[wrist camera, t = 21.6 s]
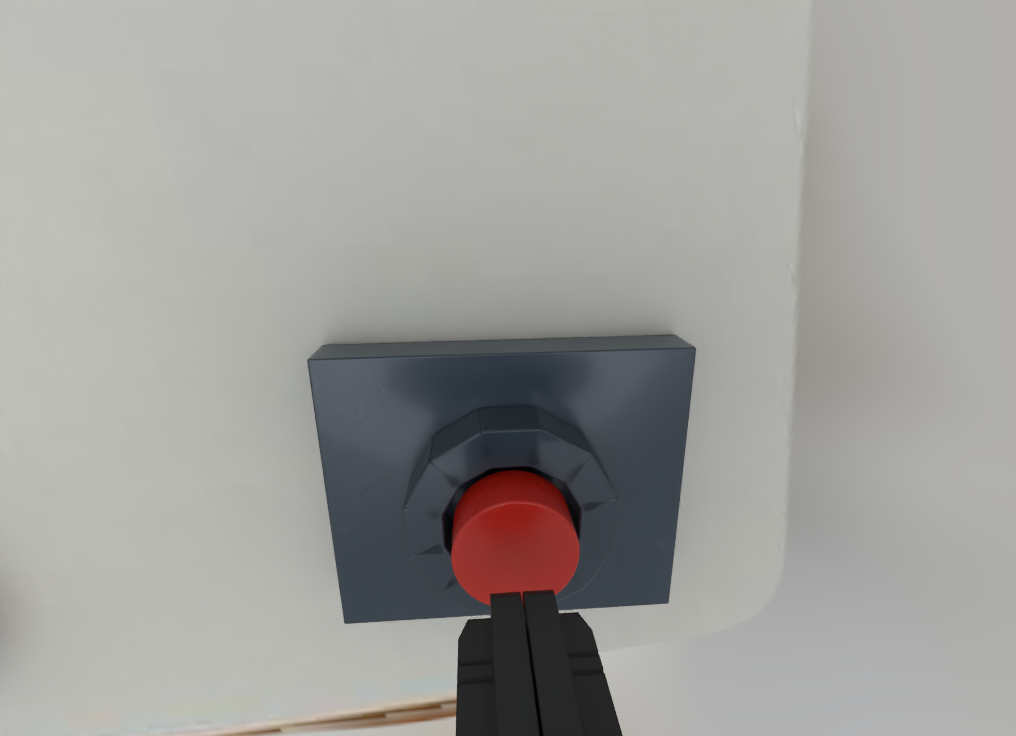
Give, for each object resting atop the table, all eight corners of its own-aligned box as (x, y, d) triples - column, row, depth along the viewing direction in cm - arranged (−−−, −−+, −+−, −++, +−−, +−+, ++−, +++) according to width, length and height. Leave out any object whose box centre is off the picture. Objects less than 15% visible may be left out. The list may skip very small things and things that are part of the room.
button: (570, 466, 15) (582, 498, 13) (567, 565, 16) (578, 606, 14) (450, 471, 15) (448, 505, 13) (455, 571, 16) (453, 614, 14)
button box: (676, 334, 17) (724, 364, 14) (653, 572, 20) (688, 644, 17) (322, 344, 17) (284, 378, 13) (354, 590, 20) (330, 668, 16)
